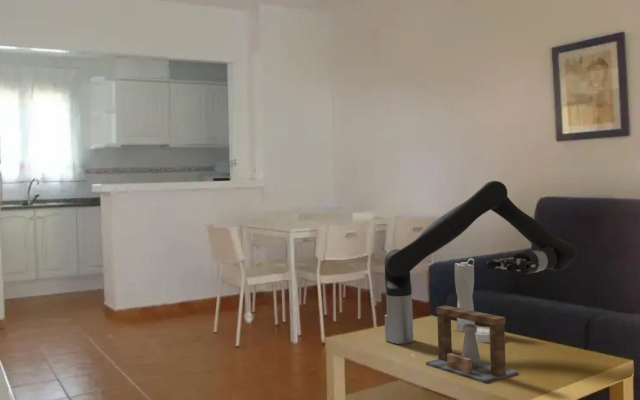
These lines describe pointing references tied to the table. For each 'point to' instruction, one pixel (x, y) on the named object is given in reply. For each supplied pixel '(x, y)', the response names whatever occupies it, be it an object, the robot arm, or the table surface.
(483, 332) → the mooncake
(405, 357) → the table surface
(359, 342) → the table surface
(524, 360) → the table surface
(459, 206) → the robot arm
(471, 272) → the skyscraper
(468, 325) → the salt shaker
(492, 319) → the gateway
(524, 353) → the table surface
